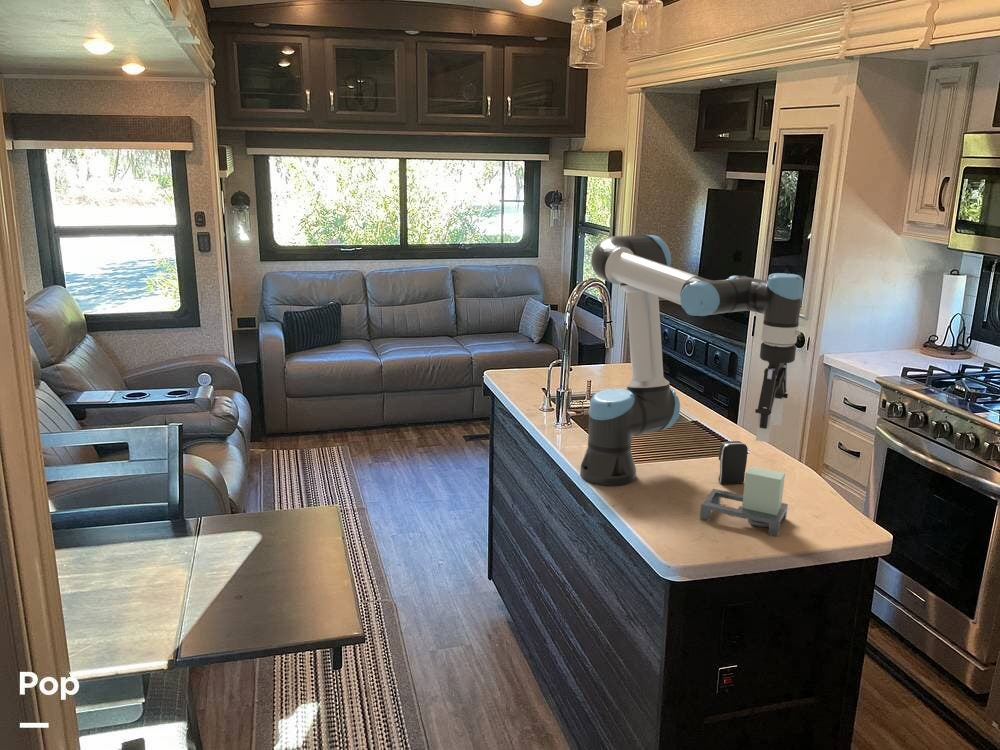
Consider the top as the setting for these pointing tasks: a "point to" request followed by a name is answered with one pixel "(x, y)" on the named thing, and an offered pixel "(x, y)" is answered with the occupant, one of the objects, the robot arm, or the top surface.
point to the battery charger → (732, 462)
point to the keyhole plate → (741, 510)
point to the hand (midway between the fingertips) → (768, 432)
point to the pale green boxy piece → (763, 492)
